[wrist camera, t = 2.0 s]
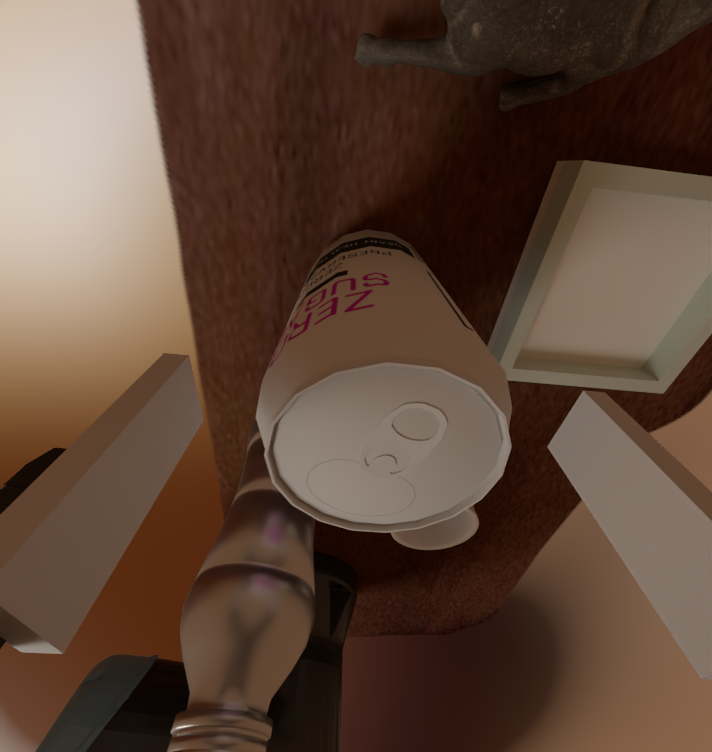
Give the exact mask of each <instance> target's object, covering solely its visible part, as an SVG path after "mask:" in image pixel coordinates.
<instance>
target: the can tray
mask: <svg viewBox="0 0 712 752" xmlns="http://www.w3.org/2000/svg"><path fill="white" fill-rule="evenodd" d="M711 334H712V177H710V176H702V175H694V174H687V173H679V172H671V171H664V170H656V169H648V168H641V167H633V166H625V165H617V164H610V163H602V162H594V161H587V160H576V161H557V163H556V165H555V168H554V170H553V173H552V176H551V178H550V181H549V184H548V186H547V189H546V192H545V194H544V197H543V200H542V202H541V205H540V208H539V210H538V213H537V216H536V218H535V221H534V223H533V226H532V229H531V231H530V234H529V237H528V239H527V242H526V245H525V247H524V250H523V253H522V255H521V258H520V261H519V263H518V266H517V269H516V271H515V274H514V276H513V279H512V282H511V284H510V287H509V290H508V292H507V295H506V298H505V300H504V303H503V306H502V308H501V311H500V314H499V316H498V319H497V322H496V324H495V327H494V329H493V332H492V335H491V337H490V340H489V343H488V345H487V348H488V349H489V350H490V352H491V353H492V354H493V356H494V357H495V358H496V360H497V361H498V363H499V364H500V365H501V367H502V368H503V369H504V371H505V372H506V376H507V380H510V381H522V382H533V383H545V384H557V385H568V386H580V387H591V388H603V389H615V390H626V391H638V392H649V393H661V394H663V393H664V392H665V391H666V390H667V388H668V387H669V386H670V385H671V383H672V382H673V381H674V380H675V378H676V377H677V376H678V375H679V373H680V372H681V371H682V370H683V368H684V367H685V366H686V365H687V363H688V362H689V361H690V360H691V359H692V357H693V356H694V355H695V354H696V352H697V351H698V350H699V349H700V347H701V346H702V345H703V344H704V342H705V341H706V340H707V339H708V337H709V336H710V335H711Z"/></svg>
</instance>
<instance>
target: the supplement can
mask: <svg viewBox="0 0 712 752" xmlns="http://www.w3.org/2000/svg"><path fill="white" fill-rule="evenodd" d="M511 412H512V404H511V398H510V393H509V387H508V382H507V376H506V372H505V371H504V369H503V368H502V367H501V365H500V364H499V363H498V361H497V360H496V358H495V357H494V356H493V354H492V353H491V352H490V350H489V349H488V348H487V346H486V345H485V343H484V342H483V341H482V339H481V338H480V337H479V335H478V334H477V333H476V331H475V330H474V329H473V327H472V326H471V324H470V323H469V322H468V320H467V319H466V318H465V316H464V315H463V314H462V312H461V311H460V310H459V308H458V307H457V305H456V304H455V303H454V301H453V300H452V299H451V297H450V296H449V295H448V293H447V292H446V290H445V289H444V288H443V286H442V285H441V284H440V282H439V281H438V280H437V278H436V277H435V276H434V274H433V273H432V271H431V270H430V269H429V267H428V266H427V265H426V263H425V262H424V261H423V259H422V258H421V257H420V255H419V254H418V253H417V252H416V250H415V249H414V248H413V246H412V245H411V244H409V243H408V242H406V241H404V240H402V239H401V238H399V237H397V236H396V235H394V234H392V233H389V232H382V231H375V230H368V229H367V230H363V231H359V232H355V233H351V234H346V235H343V236H342V237H340V238H339V239H338V240H336V241H335V242H333V243H332V244H330V245H329V246H328V247H326V248H325V249H324V250H323V252H322V253H321V255H320V256H319V258H318V259H317V261H316V262H315V264H314V265H313V267H312V268H311V271H310V273H309V275H308V277H307V280H306V282H305V284H304V287H303V289H302V291H301V294H300V296H299V298H298V300H297V303H296V305H295V307H294V310H293V312H292V314H291V316H290V319H289V321H288V323H287V326H286V328H285V330H284V333H283V335H282V337H281V339H280V342H279V344H278V346H277V349H276V351H275V353H274V355H273V358H272V360H271V362H270V365H269V367H268V369H267V372H266V374H265V376H264V378H263V381H262V384H261V390H260V396H259V401H258V407H257V413H256V420H257V423H258V427H259V430H260V434H261V437H262V440H263V444H264V447H265V453H264V457H265V460H266V464H267V467H268V470H269V474H270V477H271V480H272V483H273V484H274V485H275V487H276V488H277V489H278V490H279V491H280V492H281V493H282V495H283V496H284V497H285V498H286V499H287V500H288V501H289V503H290V504H291V505H292V506H294V507H296V508H297V509H299V510H301V511H303V512H304V513H306V514H308V515H309V516H311V517H313V518H315V519H316V520H318V521H320V522H324V523H327V524H331V525H334V526H338V527H341V528H345V529H348V530H352V531H367V532H381V533H389V532H397V531H405V530H413V529H420V528H423V527H426V526H429V525H432V524H435V523H438V522H441V521H444V520H447V519H450V518H453V517H455V516H456V515H458V514H459V513H461V512H463V511H464V510H466V509H467V508H469V507H471V506H472V505H474V504H475V503H477V502H479V501H480V500H482V499H483V497H484V496H485V495H486V494H487V493H488V492H489V491H490V489H491V488H492V487H493V486H494V485H495V484H496V482H497V481H498V480H499V479H500V478H501V477H502V475H503V472H504V469H505V466H506V463H507V460H508V457H509V454H510V451H511V447H512V446H511V441H510V436H509V431H508V430H509V424H510V418H511Z"/></svg>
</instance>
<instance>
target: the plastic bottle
mask: <svg viewBox="0 0 712 752" xmlns="http://www.w3.org/2000/svg"><path fill="white" fill-rule="evenodd" d="M264 453H265V447H264V444H263V440H262V437H261V434H260V430H259V427H258V423H257V420H256V419H255V421H254V422H253V424H252V426H251V430H250V434H249V439H248V446H247V457H246V461H245V465H244V469H243V473H242V476H241V480H240V484H239V488H238V491H237V493H236V495H235V498H234V500H233V504H232V506H231V507H230V510H229V512H228V515H227V517H226V519H225V522H224V524H223V527H222V529H221V531H220V533H219V535H218V537H217V539H216V541H215V543H214V545H213V547H212V548H211V550H210V552H209V554H208V556H207V558H206V560H205V562H204V564H203V565H202V567H201V569H200V571H199V573H198V575H197V578H196V580H195V581H194V582H193V585H192V587H191V590H190V591H189V594H188V596H187V598H186V600H185V602H184V606H183V612H182V619H181V627H180V638H181V647H182V656H183V662H184V667H185V672H186V677H187V681H188V686H189V691H190V695H189V700H188V705H187V709H186V711H183V712H180V713H178V714H177V715H176V717H175V720H174V723H173V726H172V729H171V734H172V738H171V741H170V744H169V747H168V750H167V752H266V748H267V741H268V740H269V739H270V738H271V732H272V726H273V720H272V719H271V718H269V717H267V712H268V708H269V705H270V701H271V699H272V698H273V696H274V695H275V693H276V692H277V691H278V689H279V688H280V686H281V685H282V683H283V682H284V681H285V679H286V678H287V676H288V675H289V674H290V672H291V671H292V669H293V668H294V666H295V664H296V663H297V661H298V659H299V657H300V656H301V654H302V652H303V651H304V649H305V647H306V645H307V642H308V639H309V636H310V633H311V630H312V627H313V623H314V619H315V597H314V594H315V584H314V551H313V544H314V527H315V521H314V519H315V518H313V517H311V516H309V515H308V514H306V513H304V512H303V511H301V510H299V509H297V508H296V507H294V506H292V505H291V504H290V503H289V501H288V500H287V499H286V498H285V497H284V496H283V495H282V493H281V492H280V491H279V490H278V489H277V488H276V487H275V485H274V484H273V483H272V480H271V477H270V474H269V470H268V467H267V464H266V460H265V457H264Z"/></svg>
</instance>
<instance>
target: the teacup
mask: <svg viewBox="0 0 712 752" xmlns="http://www.w3.org/2000/svg"><path fill="white" fill-rule="evenodd" d="M478 526H479V520H478V517H477V514H476V512H475V509H474V507H473V505H472V506H471V507H469V508H467V509H466V510H464V511H463V512H461V513H459V514H458V515H456V516H455V517H453V518H450V519H447V520H444V521H441V522H438V523H435V524H432V525H429V526H426V527H423V528H420V529H413V530H405V531H397V532H391V535H392V537H393V538H394V539H395V540H396V541H397V542H398V543H400V544H402V545H404V546H407V547H410V548H414V549H420V550H437V549H444V548H449V547H452V546H455V545H458V544H460V543H462V542H464V541H466V540H468V539H469V538H470V537H471V536H473V535H474V533H475V532H476V531H477V529H478Z"/></svg>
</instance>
